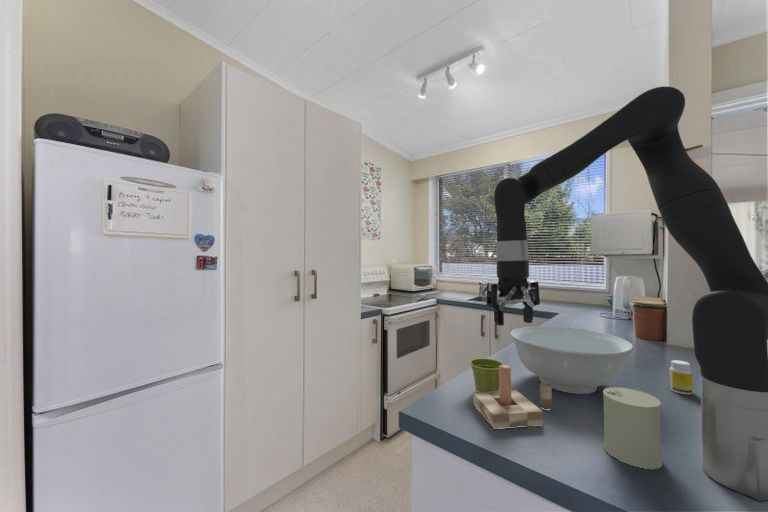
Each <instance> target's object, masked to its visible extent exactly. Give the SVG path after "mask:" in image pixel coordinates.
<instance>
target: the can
mask: <svg viewBox="0 0 768 512" xmlns="http://www.w3.org/2000/svg"><path fill="white" fill-rule="evenodd" d="M602 395H603V423H604V425H603V429H604V431H603V432H604V433H603V434H604V435H603V436H604V437H603V438H604V440H603V448H604V451H605V452H606V453H607V452H608V453H607V455H609V454H610V455H611V456H613V457H614V458H616V459H619V460H620V461H623V462H625V463H628V464H630V465H633V466H637V467H640V468H644V469H643V470H647V469H649V470H659V469H660V468H661V467H662V466H663V463H664V461H663V458H662V457H663V456H662V429H661V428H662V427H661V426H662V424H661V422H662V419H661V418H662V417H661V416H662V415H661V410H662V409H661V408H662V407H661V406H662V402H661V400H660V399H658V397H656V396H653V395H652V394H649V393H648V392H647V393H646V392H644V391H641V390H637V389H633V388H629V387H628V388H627V387H622V386H621V387H619V386H613V387H612V386H610V387H606V388H604V389H603V391H602ZM610 455H609V456H610ZM611 456H610V457H611ZM613 457H612V458H613ZM614 458H613V459H614ZM616 459H615V460H616ZM620 461H619V462H620ZM640 468H639V469H640Z"/></svg>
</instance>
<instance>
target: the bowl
mask: <svg viewBox="0 0 768 512" xmlns="http://www.w3.org/2000/svg"><path fill="white" fill-rule="evenodd" d="M509 335H510V338H511V339H513V340H514V343H515V349H516V354H517V356H518V358H519V361H520V363H521V364H522V365H523V366H524V367H525V368H526V369H527V370H528V371H529V372H531V373H532V374H534V375H535V376H538V379H539V380H538V381H539V382H540V383H547V384H550V385H551V386H552V390H554V389H555V391H558V392H561V391H562V393H566V392H567V393H568V394H573V395H587V394H593V393H595V392H596V391H597V389H598V387H600V386H605V385H608V384H609V383H612V382H614V381H615V380H616V379H618V378H619V377H620V375H621V374H622V372H623V371H624V368H625V365H626V361H627V357H628V355H630V354H631V353H632V352H633V350H634V346H633V344H632V343H631V342H629V341H628V340H626V339H624V338H623V337H622V338H621V337H619V336H615V335H612V334H608V333H604V332H599V331H595V330H589V329H583V328H582V329H581V328H576V327H575V328H574V327H563V326H542V325H541V326H525V327H518V328H515V329H512V330H511V331H510V334H509Z"/></svg>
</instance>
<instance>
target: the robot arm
mask: <svg viewBox="0 0 768 512" xmlns="http://www.w3.org/2000/svg"><path fill="white" fill-rule="evenodd" d="M685 106H686V97H685V95H684V93H683V92H682V91H681V90H680V89H678V88H676V87H674V86H673V87H672V86H657V87H654V88H651V89H648V90H646V91H644V92H642V93H641V94H639V95H638V96H636V97H635V98H633V99H632V100H630V101H629V102H628V103H627V104H625V105H624V106H623V107H621V108H620V109H619V110H618V111H616V112H615V113H614V114H613V115H611V116H609V117H608V118H607V119H605V120H604V121H602V122H601V123H600V124H598V125H597V126H596V127H594V128H593V129H591V130H590V131H588V132H587V133H586V134H584V135H583V136H580V137H579V138H578V139H576V140H575V141H573V142H572V143H570V144H568V145H567V146H565V147H563V148H562V149H560V150H558V151H556V152H554V153H552V154H551V155H549V156H547V157H546V158H544V159H542V160H541V161H539V162H537V163H535V164H534V165H533V166H531V168H530V169H529V171H527V173H524V174H523V175H522V176H520V177H518V178H516V177H506V178H503V179H502V180H499V182H498V183H497V185H496V186H495V189H494V194H493V197H494V199H493V200H494V208H495V216H496V241H497V242H496V250H495V251H496V252H495V253H496V254H495V255H496V257H495V258H496V277H497V279H498V282H497V283H493V282H488V283H487V284H486V304H485V305H486V307H488V308H491V309H493V317H494V319H493V320H494V323H495V325H497V326H504V325H505V322H504V321H505V320H504V319H505V318H504V314H505V313H504V310H503V309H504V308H505V306H506V305H507V304H508V303H509V301H515V300H518V301H520V302H521V304H522V305H523V308H522V311H523V312H522V313H523V316H522V317H523V319H522V320H523V322H524V323H527V324H531V323H533V320H534V309H533V308H534V307H535V306H539V305H540V303H541V302H540V300H541V299H540V287H539V282H538V281H533V280H532V281H531V280H529V281H528V278H530V265H529V264H530V263H529V262H530V259H529V257H530V256H529V247H528V246H529V245H528V231H527V230H528V228H527V222H526V218H525V214H526V213H525V210H526V209H525V205H527V204H528V203H529V202H531V201H532V200H535V198H537V197H539V196H540V195H542V194H543V193H545V192H546V191H549V190H551V189H554V188H555V187H558V186H559V185H561V184H562V183H565V182H567V181H569V180H570V179H572V178H574V177H576V176H577V175H578V174H580V173H582V172H583V171H584V170H585V169H587V168H588V167H590V166H591V165H592V164H593V163H594V162H596V161H597V160H599V158H600V157H602V156H603V155H605V154H606V153H607V152H610V150H612V149H613V148H615V147H617V146H618V145H621V144H622V143H624V142H626V141H628V143H629V145H630V147H631V148H632V150H633V151H634V153H635V155H636V156H637V158H638V159H639V161H640V163H641V164H642V166H643V169H644V170H645V174H646V176H647V181H648V184H649V186H650V190H651V192H652V195H653V197H654V200H655V203H656V206H657V209H658V211H659V214H660V216H661V220H662V221H663V223H664V225H665V227H666V229H667V231H668V233H669V234H670V235H671V237H672V238H673V240H675V241H676V243H677V244H678V245H679V246H680V248H682V249H683V250H684V252H685V253H686V254H688V255H689V257H691V259H692V260H693V261H694V262H695V263H696V265H698V267H699V269H700V270H701V272H702V274H703V276H704V278H705V281H706V283H707V285H708V288H709V290H710V292H708V293H706V294H703V295H702V296H701V297H699V299H698V300H697V301H696V302H695V304H694V306H693V310H692V320H691V325H692V336H693V349H694V356H695V359H696V362H697V363H698V365H699V368H700V403H701V404H700V406H701V409H700V411H701V444H702V445H701V447H702V449H701V451H702V455H701V456H702V457H701V459H702V470H703V471H704V473H705V474H706V475H707V476H708V477H710V478H711V479H712V480H714V481H715V482H716V483H719V484H720V485H722V486H723V487H726V488H728V489H730V490H732V491H735V492H737V493H740V494H744V495H746V496H748V497H751V498H752V499H754V500H756V501H757V502H758V501H759V502H763V501H768V281H767V279H766V277H765V276H764V275H763V274H762V272H761V270H760V268H759V267H758V266H757V264H756V262H755V260H754V259H753V257H752V255H751V253H750V250H749V248H748V246H747V243H746V241H745V239H744V236H743V235H742V232H741V230H740V228H739V227H738V225H737V222H736V220H735V217H734V216H733V214H732V210H731V209H730V207H729V204H728V202H727V200H726V198H725V195H724V194H723V192H722V190H721V188H720V186H719V184H718V183H717V182H716V180H715V179H714V178H713V177H712V176H711V175H710V174H709V173H708V172H707V171H706V170H705V169H703V167H701V166H700V165H699V164H698V163H696V162H695V161H694V160H693V159H692V158H691V157H690V156H689V154H688V153H687V151H686V148H685V146H684V143H683V141H682V138H681V135H680V131H679V123H680V120H681V118H682V115H683V113H684V110H685Z"/></svg>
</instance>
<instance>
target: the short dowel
mask: <svg viewBox="0 0 768 512" xmlns="http://www.w3.org/2000/svg"><path fill="white" fill-rule="evenodd" d="M552 392H553V389H552V386H551V385H550V384H547V383H541V382H540V383H539V408H540V407H542V408H544V409H552V410H553V393H552Z"/></svg>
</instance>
